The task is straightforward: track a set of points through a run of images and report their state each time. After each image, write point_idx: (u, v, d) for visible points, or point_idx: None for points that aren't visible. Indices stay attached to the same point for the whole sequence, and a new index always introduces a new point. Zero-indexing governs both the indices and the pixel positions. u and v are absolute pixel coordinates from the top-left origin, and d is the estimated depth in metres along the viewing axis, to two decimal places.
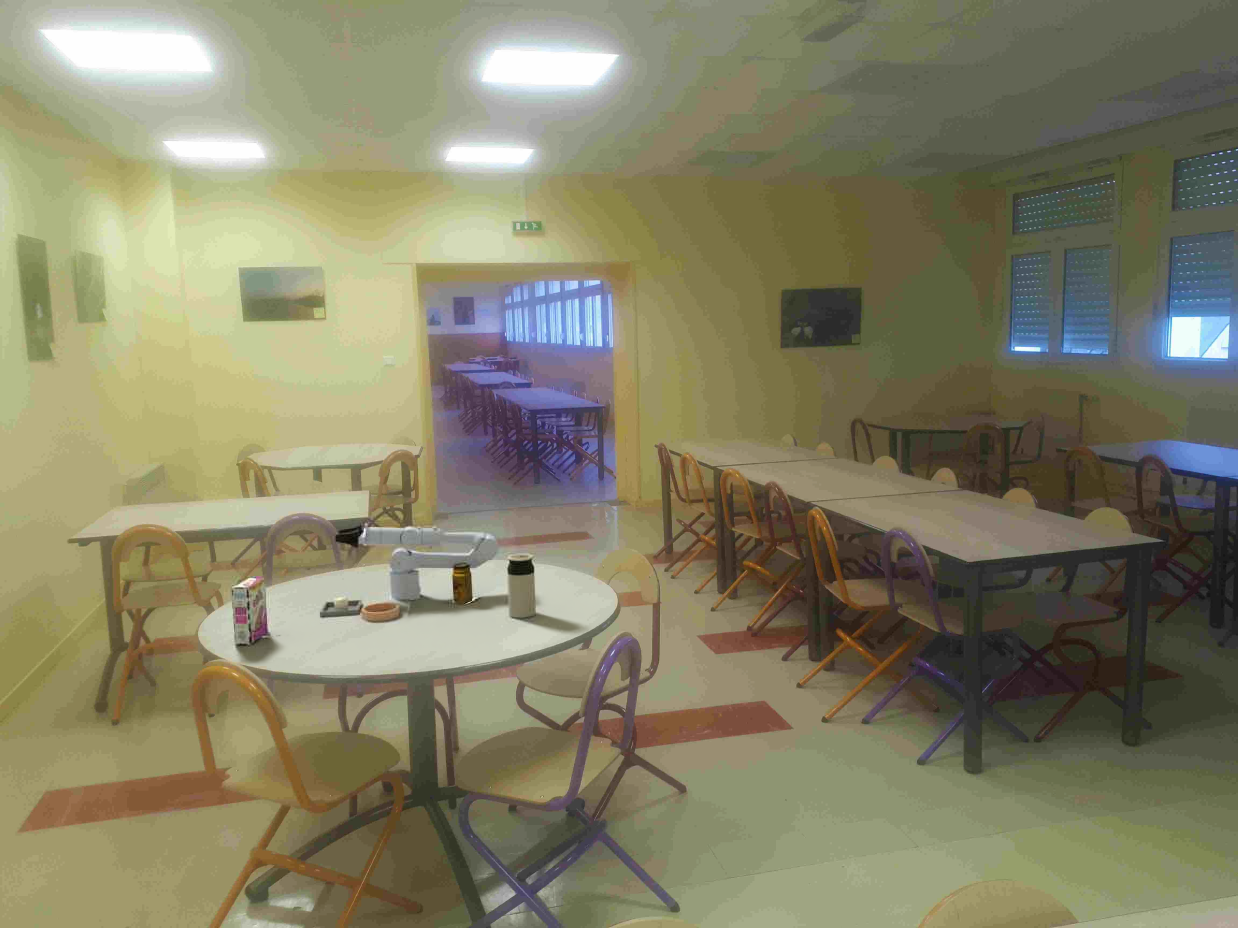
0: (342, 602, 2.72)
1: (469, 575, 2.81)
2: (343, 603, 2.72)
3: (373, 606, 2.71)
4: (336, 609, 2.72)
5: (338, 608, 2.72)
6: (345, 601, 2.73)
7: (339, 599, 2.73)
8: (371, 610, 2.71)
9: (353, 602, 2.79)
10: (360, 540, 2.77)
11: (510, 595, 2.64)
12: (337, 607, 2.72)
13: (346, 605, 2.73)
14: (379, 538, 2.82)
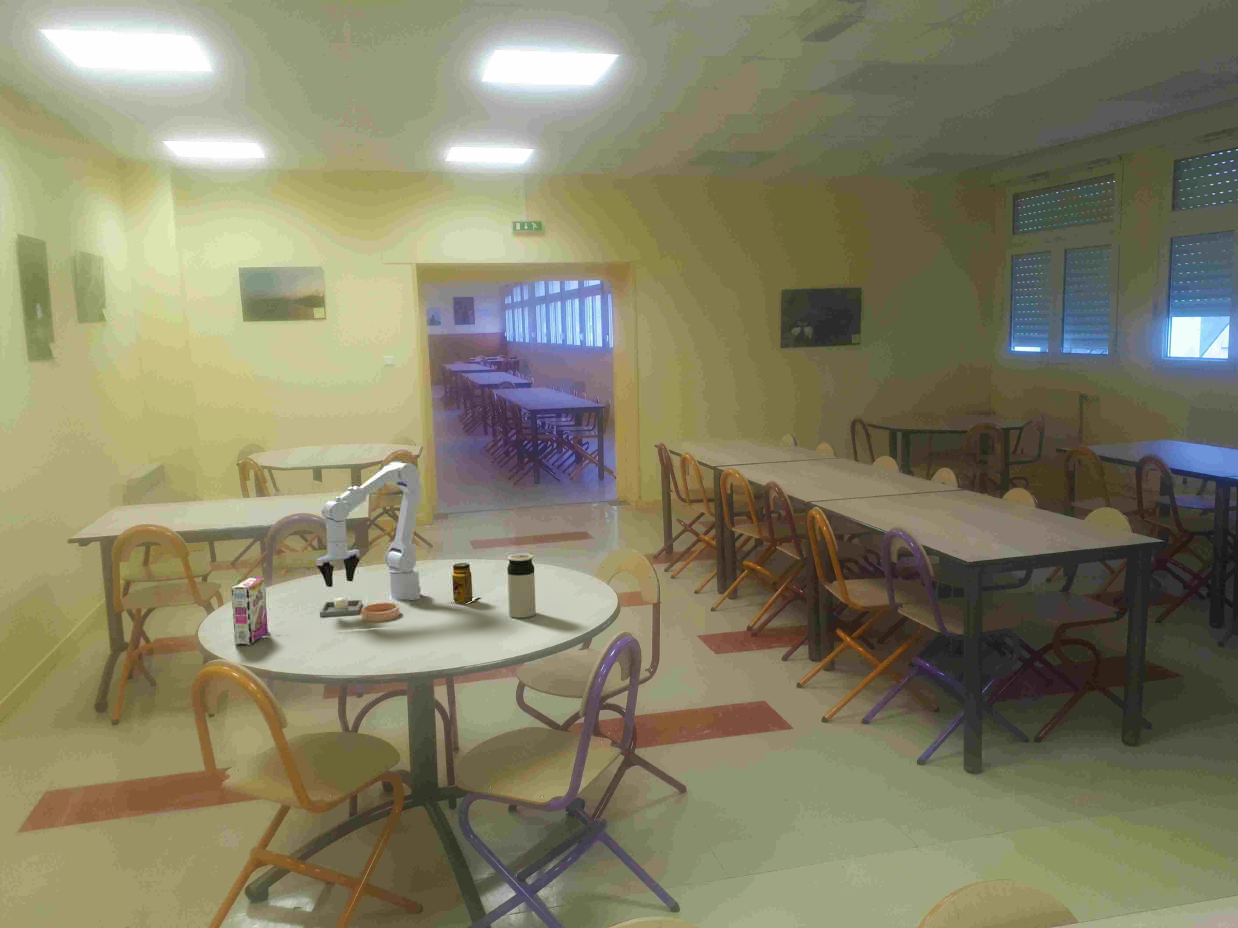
0: (342, 602, 2.72)
1: (469, 575, 2.81)
2: (343, 603, 2.72)
3: (373, 606, 2.71)
4: (336, 609, 2.72)
5: (338, 608, 2.72)
6: (345, 601, 2.73)
7: (339, 599, 2.73)
8: (371, 610, 2.71)
9: (353, 602, 2.79)
10: (318, 563, 2.66)
11: (510, 595, 2.64)
12: (337, 607, 2.72)
13: (346, 605, 2.73)
14: (329, 543, 2.69)
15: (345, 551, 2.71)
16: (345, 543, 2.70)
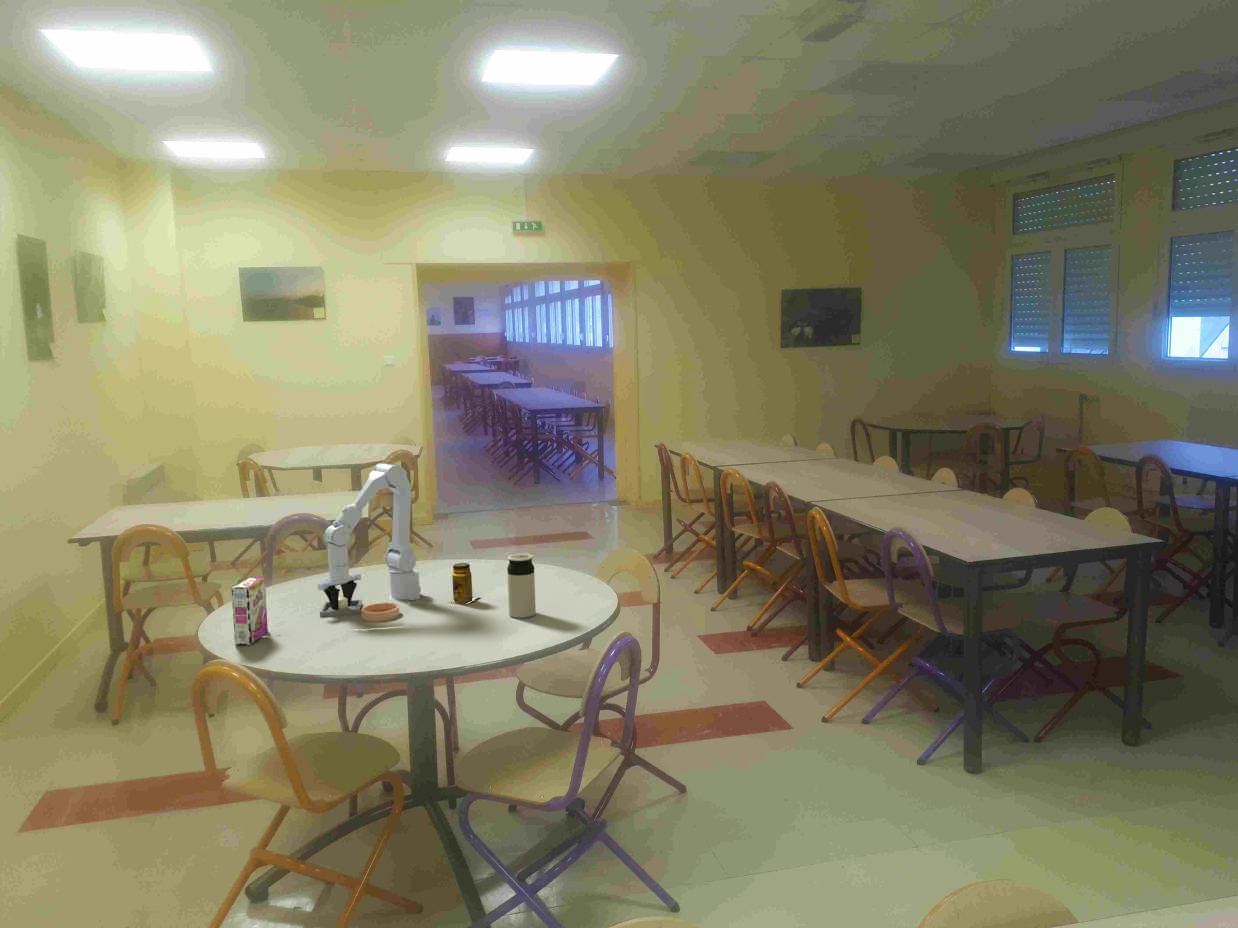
0: (342, 602, 2.72)
1: (469, 575, 2.81)
2: (343, 603, 2.72)
3: (373, 606, 2.71)
4: None
5: (338, 608, 2.72)
6: (345, 601, 2.73)
7: (339, 599, 2.73)
8: (371, 610, 2.71)
9: (353, 602, 2.79)
10: (319, 588, 2.67)
11: (510, 595, 2.64)
12: None
13: (346, 605, 2.73)
14: (331, 567, 2.70)
15: (347, 575, 2.72)
16: (347, 567, 2.71)
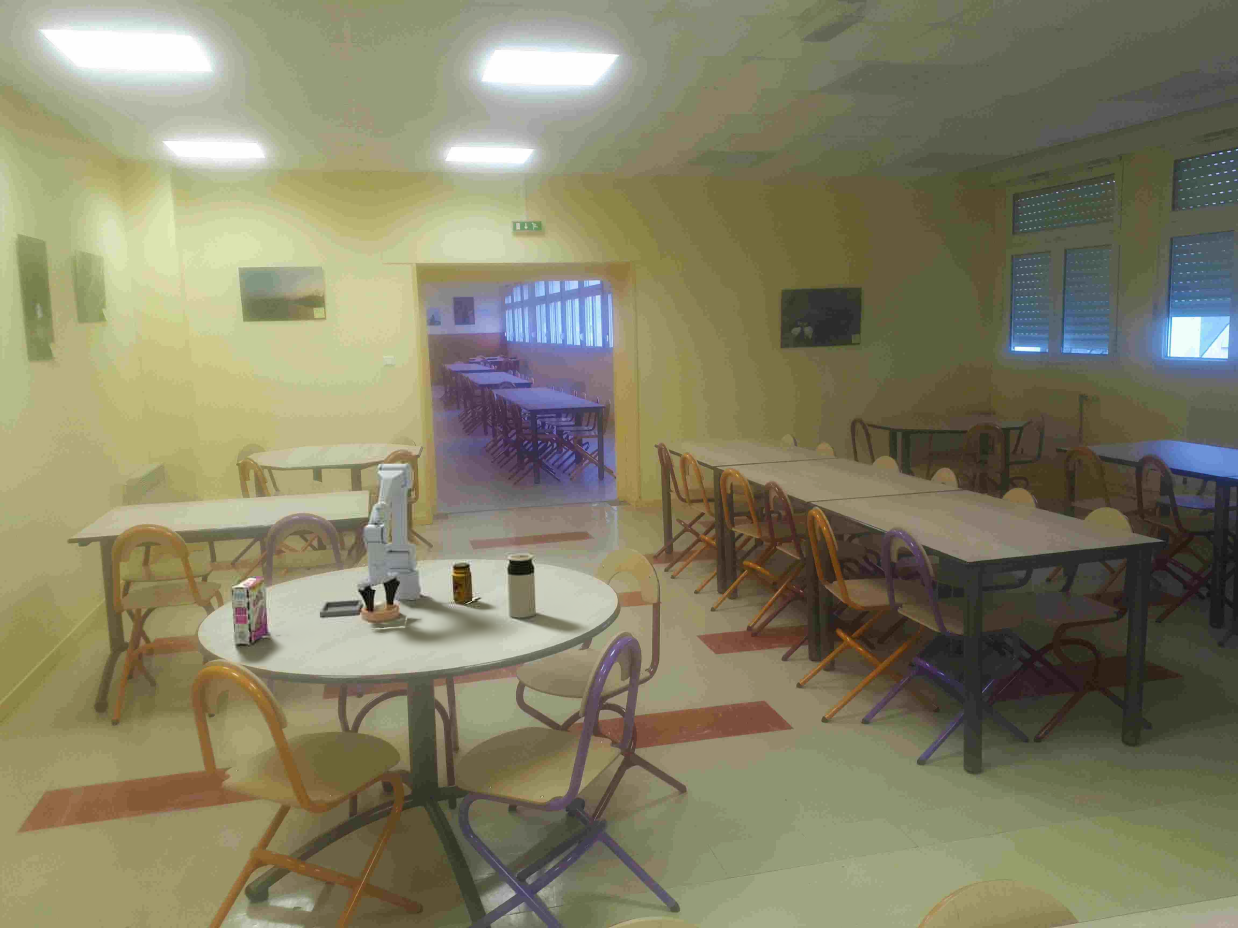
0: (382, 606, 2.66)
1: (469, 575, 2.81)
2: (383, 608, 2.66)
3: None
4: None
5: None
6: (385, 605, 2.66)
7: (378, 603, 2.67)
8: None
9: (353, 602, 2.79)
10: (359, 587, 2.60)
11: (510, 595, 2.64)
12: None
13: (386, 609, 2.67)
14: (371, 566, 2.63)
15: (386, 574, 2.65)
16: (386, 566, 2.65)
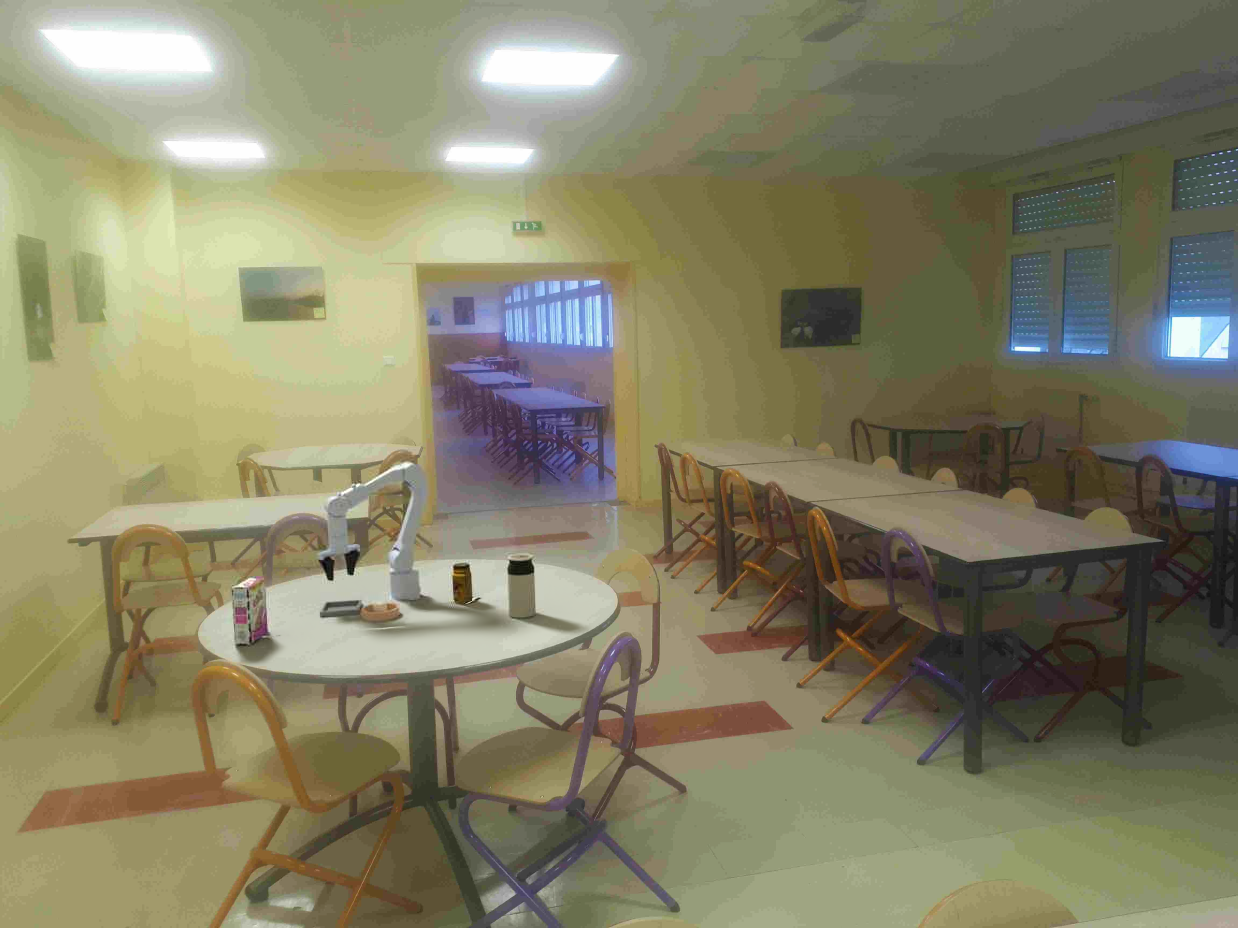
0: (382, 606, 2.66)
1: (469, 575, 2.81)
2: (383, 608, 2.66)
3: None
4: None
5: None
6: (385, 605, 2.67)
7: (378, 603, 2.67)
8: (371, 610, 2.71)
9: (353, 602, 2.79)
10: (319, 557, 2.72)
11: (510, 595, 2.64)
12: None
13: (386, 609, 2.67)
14: (330, 537, 2.74)
15: (346, 546, 2.76)
16: (346, 538, 2.76)
